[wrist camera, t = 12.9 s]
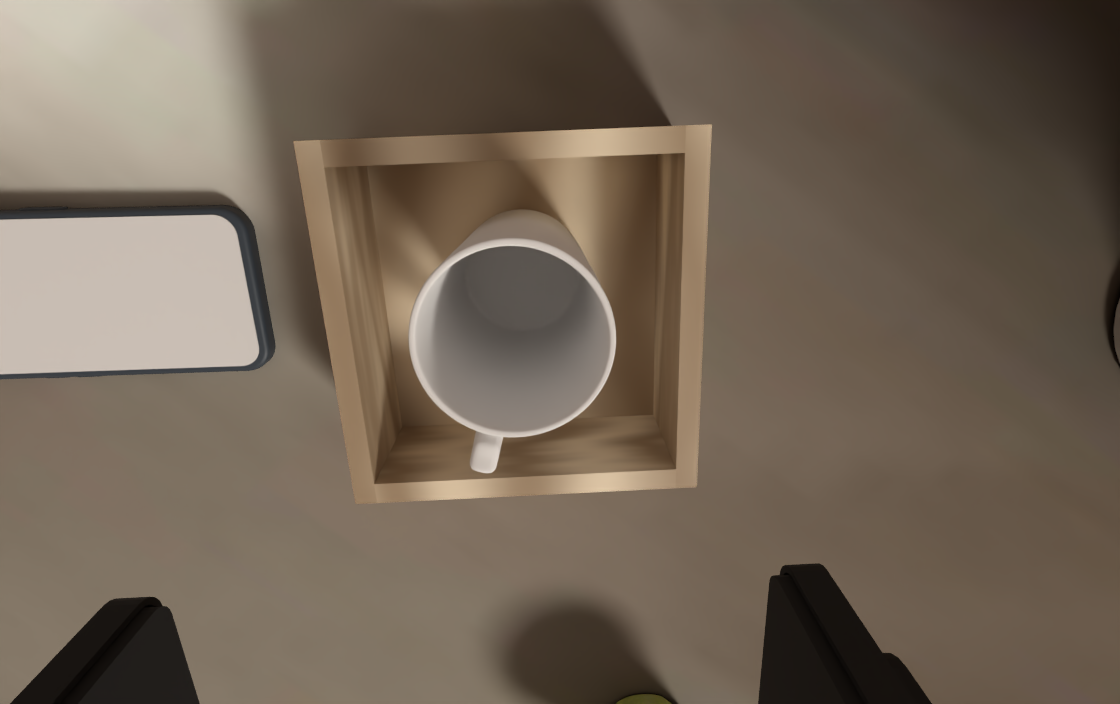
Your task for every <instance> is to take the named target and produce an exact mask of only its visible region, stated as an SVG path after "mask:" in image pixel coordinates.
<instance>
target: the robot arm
mask: <svg viewBox="0 0 1120 704" xmlns="http://www.w3.org/2000/svg"><path fill="white" fill-rule="evenodd" d="M1114 342H1115V350H1116V353H1117V356H1118V359H1119V362H1120V299H1119V302H1118V305H1117V308H1116V314H1115V322H1114ZM10 704H200V703H199V700H198V697H197V694H196V690H195V687H194V684H193V681H192V677H191V674H190V671H189V668H188V664H187V661H186V658H185V655H184V651H183V648H182V645H181V642H180V638H179V635H178V632H177V629H176V626H175V622H174V619H173V616H172V613H171V611H170V609H169V608H168V607H165V606H162V604H161V602H160V601H159V600H158V599H157V598H155V597H139V598H119V599H113V600H111V601H109V602H108V603H106V604H105V605H104V606H103V607H102V608H101V609H100V610H99V611H98V612H97V613H96V614H95V615H94V616H93V617H92V618H91V619H90V620H89V621H88V622H87V624H86V625H85V626H84V627H83V628H82V629H81V630H80V631H79V632H78V633H77V634H76V635H75V636H74V637H73V638H72V639H71V640H70V641H69V642H68V643H67V645H66V646H65V647H64V648H63V649H62V650H61V651H60V652H59V653H58V654H57V655H56V656H55V657H54V658H53V659H52V660H51V661H50V662H49V663H48V664H47V666H46V667H45V668H44V669H43V670H42V671H41V672H40V673H39V674H38V675H37V676H36V677H35V678H34V679H33V680H32V681H31V682H30V683H29V684H28V685H27V687H26V688H25V689H24V690H23V691H22V692H21V693H20V694H19V695H18V696H17V697H16V698H15V699H14V700H13V701H12V702H11V703H10ZM758 704H932V703H931V702H930V700H929V699H928V698H927V696H926V695H925V693H924V692H923V690H922V689H921V688H920V686H919V685H918V683H917V682H916V680H915V679H914V677H913V676H912V675H911V673H910V672H909V670H908V669H907V667H906V666H905V665H904V664H903V663H902V662H901V660H900V659H899V658H898V657H896V656H895V655H893V654H891V653H882V652H881V650H880V649H879V647H878V646H877V644H876V643H875V641H874V640H873V638H872V637H871V635H870V634H869V632H868V631H867V629H866V628H865V626H864V625H863V623H862V622H861V620H860V619H859V617H858V616H857V614H856V613H855V611H854V610H853V608H852V607H851V605H850V604H849V602H848V601H847V599H846V598H845V596H844V595H843V593H842V592H841V590H840V589H839V587H838V586H837V584H836V583H835V581H834V580H833V578H832V577H831V575H830V574H829V572H828V571H827V569H826V568H825V567H824V566H823V565H821V564H800V565H785V566H783V567H782V569H781V571H780V575H776V576H771V578H770V582H769V592H768V603H767V614H766V625H765V636H764V647H763V658H762V668H761V679H760V690H759V701H758Z"/></svg>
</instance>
